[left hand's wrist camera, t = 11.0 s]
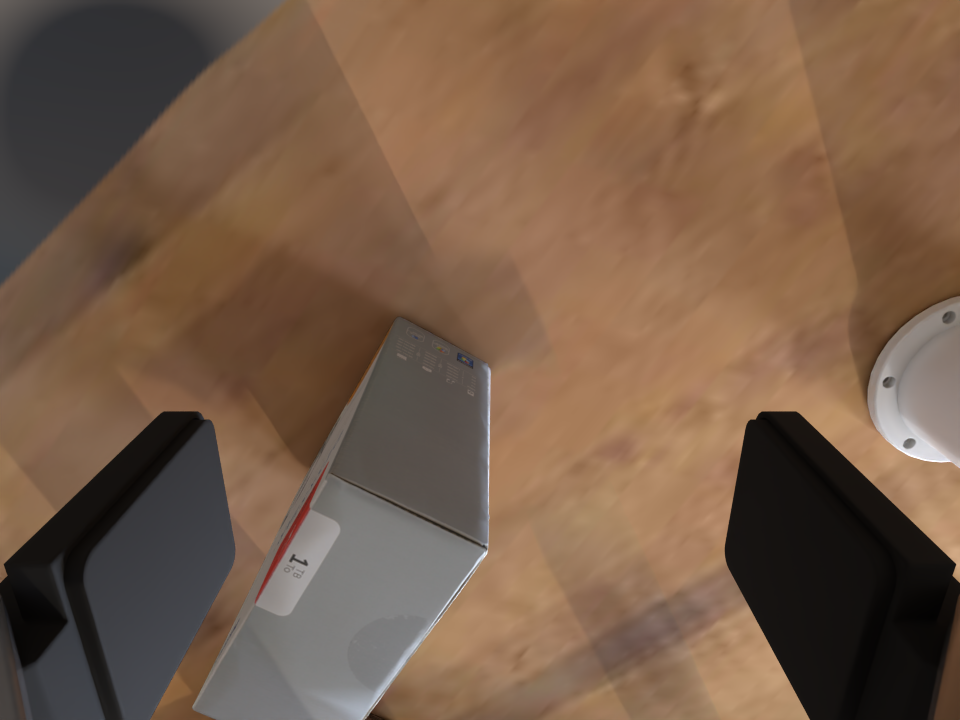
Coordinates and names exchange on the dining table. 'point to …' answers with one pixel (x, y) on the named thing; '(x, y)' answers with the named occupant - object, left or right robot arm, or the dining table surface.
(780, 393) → the dining table surface
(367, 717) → the right robot arm
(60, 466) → the dining table surface
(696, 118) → the dining table surface
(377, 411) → the hard drive box
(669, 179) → the dining table surface
